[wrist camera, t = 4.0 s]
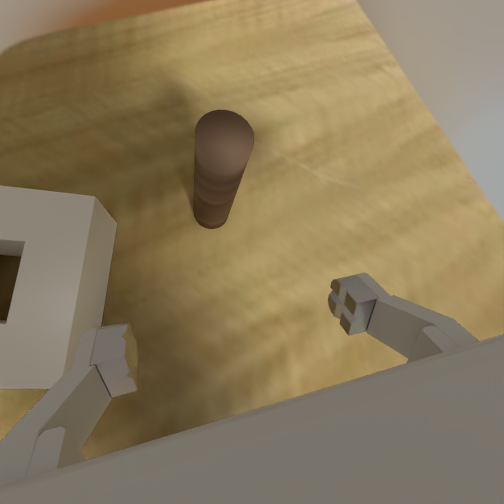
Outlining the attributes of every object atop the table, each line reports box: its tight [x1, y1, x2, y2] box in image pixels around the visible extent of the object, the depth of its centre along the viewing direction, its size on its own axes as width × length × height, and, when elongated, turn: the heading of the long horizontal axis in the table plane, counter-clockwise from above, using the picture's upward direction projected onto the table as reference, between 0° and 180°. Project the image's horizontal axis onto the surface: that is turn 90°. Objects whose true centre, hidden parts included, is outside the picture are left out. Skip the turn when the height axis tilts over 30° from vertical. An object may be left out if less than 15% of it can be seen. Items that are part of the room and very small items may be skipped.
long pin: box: [194, 110, 254, 229], centre depth 21 cm, size 3×3×12 cm
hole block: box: [0, 185, 117, 389], centre depth 20 cm, size 12×12×6 cm
